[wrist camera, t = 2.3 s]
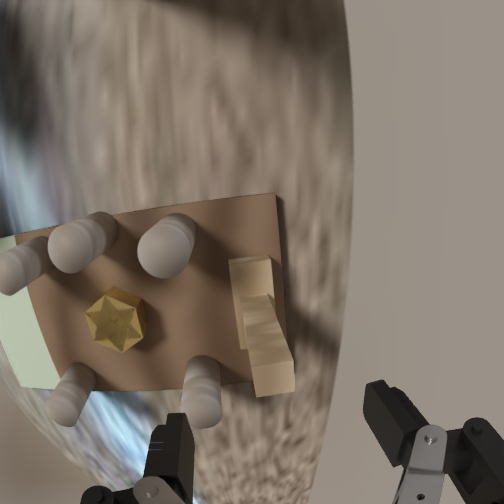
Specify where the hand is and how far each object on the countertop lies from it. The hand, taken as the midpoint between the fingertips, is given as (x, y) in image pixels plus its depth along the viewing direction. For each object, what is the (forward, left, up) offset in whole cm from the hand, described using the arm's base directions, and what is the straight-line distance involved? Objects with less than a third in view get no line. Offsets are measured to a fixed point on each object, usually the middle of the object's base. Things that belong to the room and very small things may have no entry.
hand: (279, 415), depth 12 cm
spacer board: (+4, -8, -14) cm, 16 cm away
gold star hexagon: (+6, -9, -13) cm, 17 cm away
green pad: (+12, -20, -14) cm, 27 cm away
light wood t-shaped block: (0, 0, -13) cm, 13 cm away
